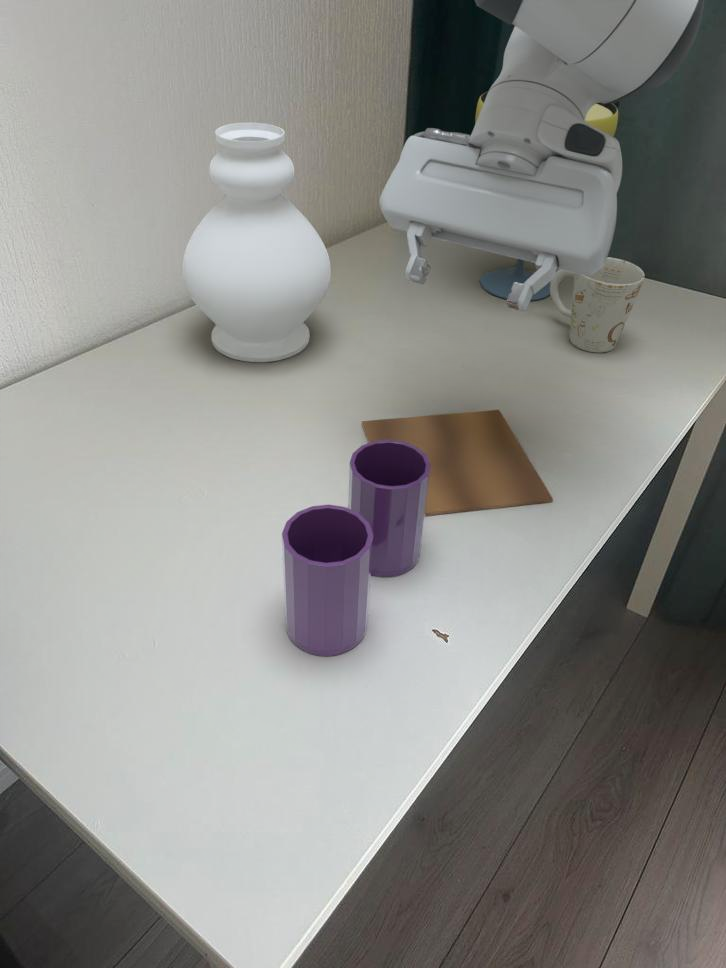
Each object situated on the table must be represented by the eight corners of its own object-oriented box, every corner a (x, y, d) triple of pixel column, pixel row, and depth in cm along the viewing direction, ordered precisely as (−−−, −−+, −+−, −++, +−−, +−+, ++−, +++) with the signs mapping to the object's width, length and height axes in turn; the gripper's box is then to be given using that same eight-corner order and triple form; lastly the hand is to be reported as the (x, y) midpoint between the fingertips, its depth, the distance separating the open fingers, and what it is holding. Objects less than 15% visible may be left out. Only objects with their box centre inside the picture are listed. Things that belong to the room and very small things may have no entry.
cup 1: (358, 589, 66) (362, 500, 60) (374, 650, 61) (381, 560, 55) (281, 599, 65) (277, 509, 59) (291, 661, 60) (288, 571, 54)
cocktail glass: (444, 300, 110) (465, 111, 94) (468, 253, 124) (490, 81, 108) (572, 322, 106) (616, 128, 91) (582, 271, 120) (623, 95, 104)
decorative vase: (224, 298, 108) (208, 104, 92) (346, 318, 105) (351, 120, 89) (166, 359, 95) (135, 144, 79) (303, 384, 91) (300, 165, 75)
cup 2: (410, 522, 73) (418, 436, 67) (428, 572, 68) (439, 484, 62) (341, 530, 72) (343, 443, 66) (354, 581, 67) (358, 492, 61)
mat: (498, 412, 88) (499, 409, 88) (552, 502, 76) (553, 499, 76) (361, 423, 85) (361, 420, 85) (394, 519, 73) (395, 516, 73)
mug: (599, 364, 98) (619, 290, 91) (522, 326, 105) (536, 256, 98) (637, 344, 102) (658, 273, 96) (560, 310, 109) (575, 241, 103)
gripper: (404, 103, 67) (345, 249, 66) (640, 145, 60) (576, 309, 59) (421, 145, 73) (367, 279, 72) (638, 188, 66) (580, 337, 65)
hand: (463, 293), depth 66 cm, fingers open, 8 cm apart
